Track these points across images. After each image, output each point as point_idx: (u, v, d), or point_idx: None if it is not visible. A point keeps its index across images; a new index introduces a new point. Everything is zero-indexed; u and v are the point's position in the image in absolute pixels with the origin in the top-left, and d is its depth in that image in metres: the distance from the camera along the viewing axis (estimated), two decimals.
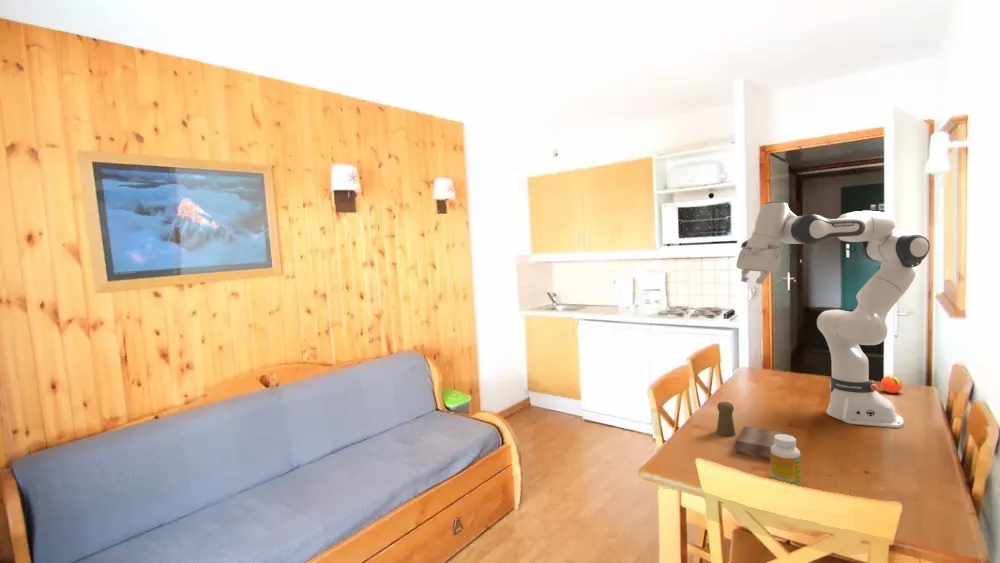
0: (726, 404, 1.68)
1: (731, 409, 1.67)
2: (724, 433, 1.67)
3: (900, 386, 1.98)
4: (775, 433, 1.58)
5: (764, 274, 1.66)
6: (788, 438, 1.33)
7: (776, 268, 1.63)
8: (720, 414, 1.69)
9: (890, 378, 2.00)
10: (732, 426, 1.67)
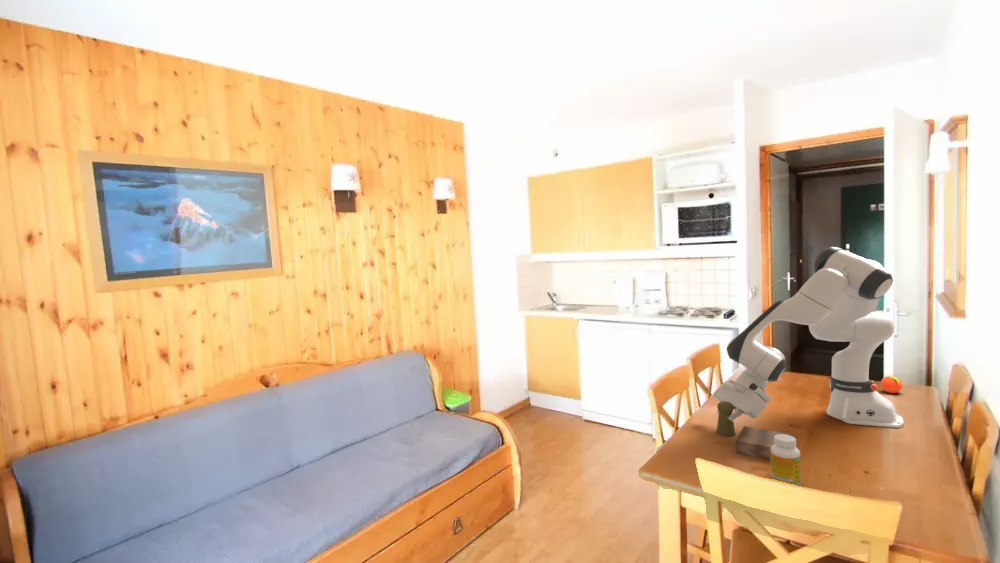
0: (726, 404, 1.68)
1: (731, 409, 1.67)
2: (724, 433, 1.67)
3: (900, 386, 1.98)
4: (775, 433, 1.58)
5: None
6: (788, 438, 1.33)
7: None
8: (720, 414, 1.69)
9: (890, 378, 2.00)
10: (732, 426, 1.67)
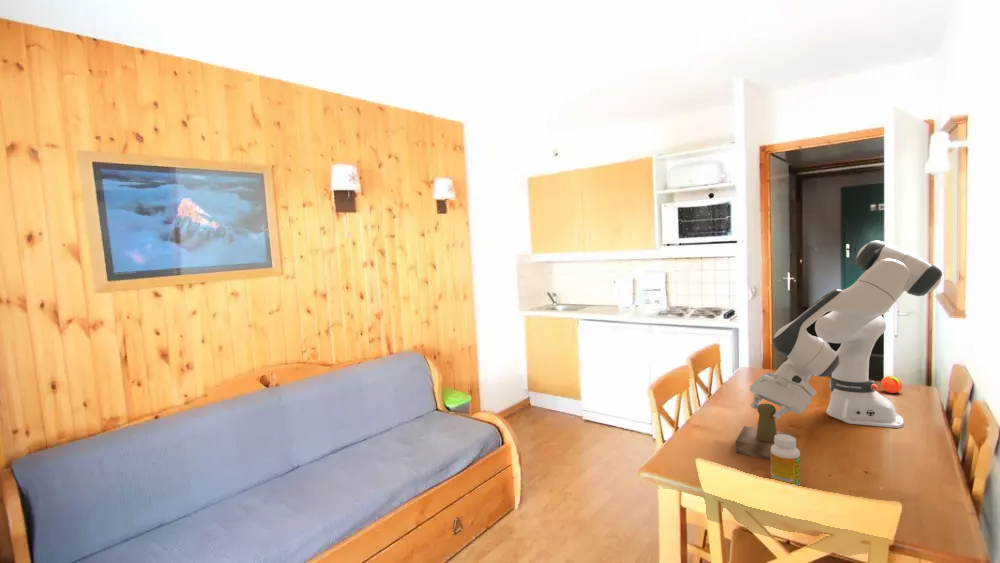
0: (767, 406, 1.52)
1: (773, 411, 1.51)
2: (765, 438, 1.52)
3: (900, 386, 1.98)
4: None
5: None
6: (788, 438, 1.33)
7: None
8: (761, 417, 1.53)
9: (890, 378, 2.00)
10: (774, 430, 1.52)
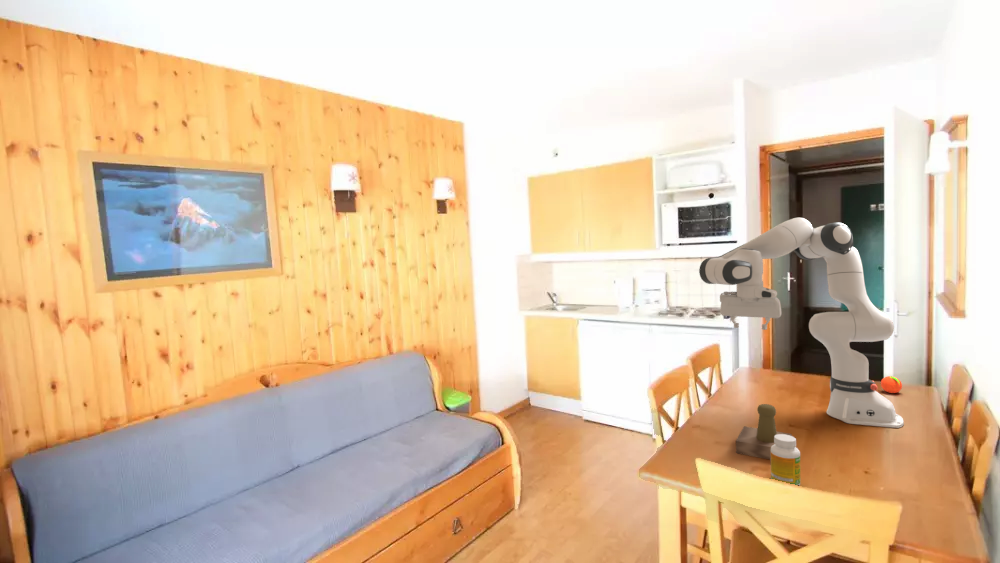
0: (768, 407, 1.52)
1: (773, 412, 1.51)
2: (765, 439, 1.52)
3: (900, 386, 1.98)
4: None
5: None
6: (788, 438, 1.33)
7: None
8: (761, 418, 1.53)
9: (890, 378, 2.00)
10: (774, 431, 1.52)
